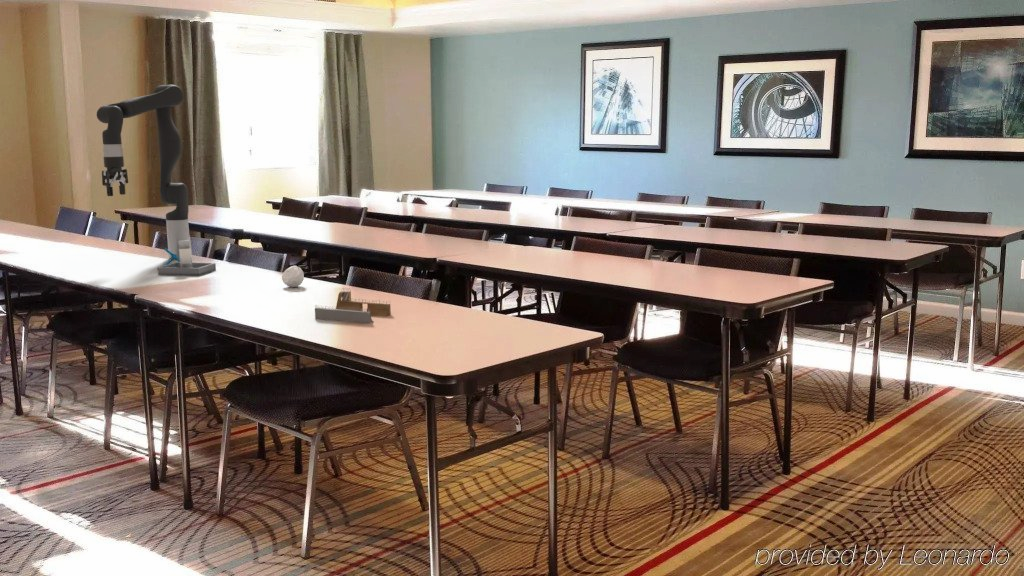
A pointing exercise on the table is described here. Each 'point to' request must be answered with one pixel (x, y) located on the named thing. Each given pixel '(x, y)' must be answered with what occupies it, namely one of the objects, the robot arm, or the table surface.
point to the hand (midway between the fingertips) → (116, 195)
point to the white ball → (293, 276)
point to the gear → (171, 257)
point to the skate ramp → (352, 310)
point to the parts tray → (186, 269)
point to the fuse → (185, 254)
